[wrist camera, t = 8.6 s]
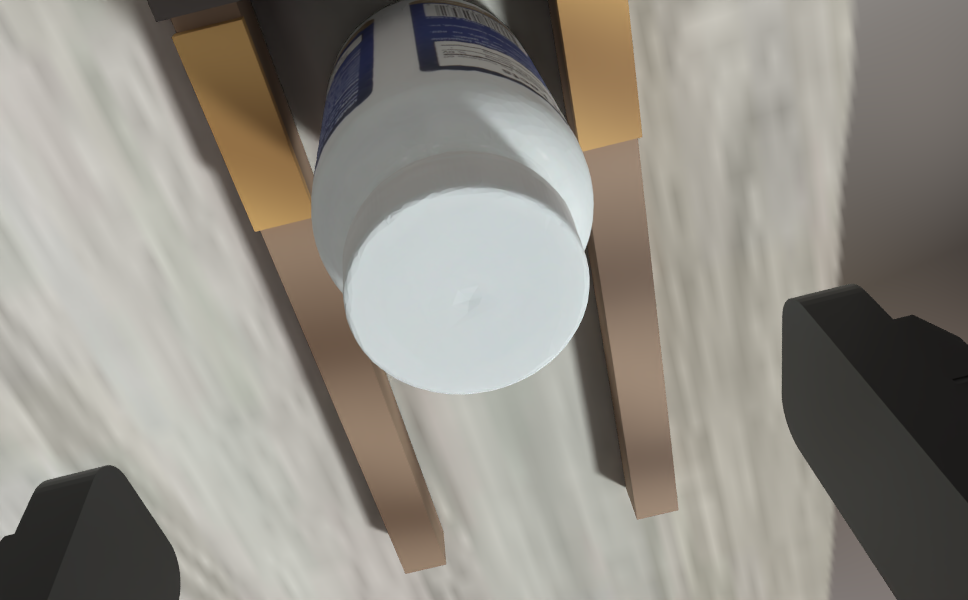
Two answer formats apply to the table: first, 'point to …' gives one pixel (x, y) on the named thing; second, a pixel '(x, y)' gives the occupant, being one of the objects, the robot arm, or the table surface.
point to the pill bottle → (450, 200)
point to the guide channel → (319, 303)
